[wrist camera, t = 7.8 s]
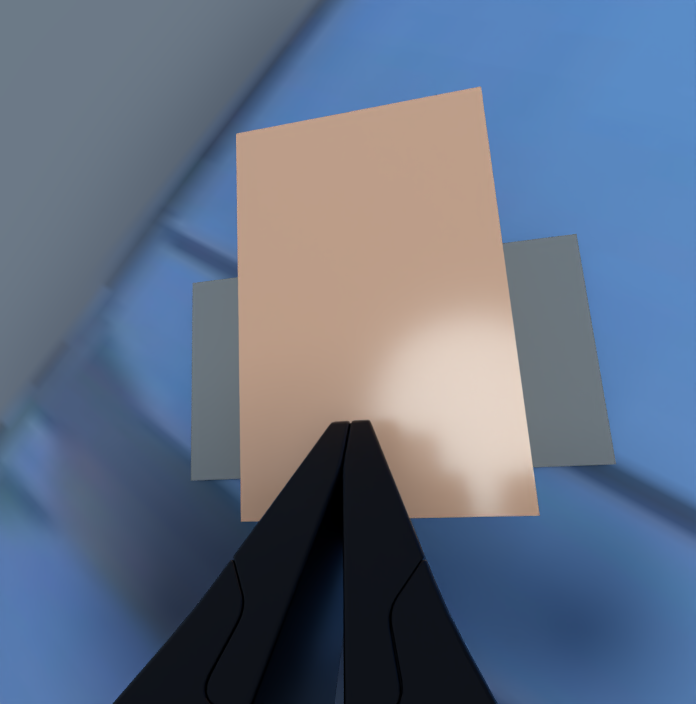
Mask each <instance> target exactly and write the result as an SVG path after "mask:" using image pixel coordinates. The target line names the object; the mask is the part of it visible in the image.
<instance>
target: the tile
mask: <svg viewBox="0 0 696 704" xmlns="http://www.w3.org/2000/svg"><path fill="white" fill-rule="evenodd" d="M236 154H237V235H238V315H239V396H240V476H241V522H248V521H260V519H261V518H262V517H263V515H264V514H265V512H266V511H267V510H268V508H269V507H270V506H271V504H272V503H273V501H274V500H275V499H276V497H277V496H278V495H279V493H280V492H281V490H282V489H283V488H284V486H285V485H286V484H287V482H288V481H289V480H290V478H291V477H292V475H293V474H294V473H295V471H296V470H297V469H298V467H299V466H300V464H301V463H302V462H303V460H304V459H305V458H306V456H307V455H308V453H309V452H310V451H311V449H312V448H313V447H314V445H315V444H316V442H317V441H318V440H319V438H320V437H321V436H322V434H323V433H324V431H325V430H326V429H327V427H328V426H329V425H330V424H331V423H332V422H335V421H349V422H352V421H354V420H370V421H371V423H372V426H373V428H374V431H375V433H376V436H377V438H378V441H379V443H380V446H381V448H382V451H383V453H384V455H385V458H386V460H387V463H388V465H389V468H390V470H391V473H392V475H393V478H394V480H395V483H396V485H397V488H398V490H399V493H400V495H401V498H402V500H403V503H404V505H405V508H406V510H407V513H408V515H409V518H446V517H495V516H540V515H539V507H538V500H537V493H536V486H535V478H534V471H533V464H532V456H531V449H530V442H529V434H528V427H527V420H526V412H525V405H524V398H523V391H522V383H521V376H520V369H519V361H518V354H517V347H516V339H515V332H514V325H513V318H512V310H511V303H510V296H509V288H508V281H507V274H506V266H505V259H504V252H503V245H502V237H501V230H500V223H499V215H498V208H497V201H496V193H495V186H494V179H493V172H492V164H491V157H490V150H489V142H488V135H487V128H486V120H485V113H484V106H483V99H482V91H481V87H476V88H471V89H466V90H461V91H455V92H450V93H445V94H440V95H435V96H430V97H424V98H419V99H414V100H409V101H404V102H398V103H393V104H388V105H383V106H378V107H373V108H367V109H362V110H357V111H352V112H347V113H342V114H336V115H331V116H326V117H321V118H316V119H310V120H305V121H300V122H295V123H290V124H285V125H279V126H274V127H269V128H264V129H259V130H253V131H248V132H243V133H238V134H236Z"/></svg>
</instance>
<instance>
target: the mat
mask: <svg viewBox="0 0 696 704" xmlns="http://www.w3.org/2000/svg"><path fill="white" fill-rule="evenodd" d="M502 245H503V252H504V259H505V266H506V274H507V281H508V288H509V296H510V303H511V310H512V318H513V325H514V332H515V339H516V347H517V354H518V361H519V369H520V376H521V383H522V391H523V398H524V405H525V412H526V420H527V427H528V434H529V442H530V449H531V456H532V464H533V467H555V466H581V465H607V464H616V462H615V456H614V450H613V444H612V439H611V433H610V427H609V421H608V415H607V409H606V404H605V398H604V392H603V386H602V380H601V375H600V369H599V363H598V357H597V351H596V345H595V340H594V334H593V328H592V322H591V316H590V310H589V305H588V299H587V293H586V287H585V281H584V276H583V270H582V264H581V258H580V252H579V246H578V241H577V235H576V234H572V235H565V236H557V237H549V238H541V239H533V240H526V241H518V242H510V243H502ZM219 479H241V476H240V396H239V315H238V277H237V278H229V279H222V280H214V281H206V282H198V283H193V311H192V421H191V481H193V480H219Z"/></svg>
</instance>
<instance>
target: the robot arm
mask: <svg viewBox="0 0 696 704" xmlns="http://www.w3.org/2000/svg"><path fill="white" fill-rule="evenodd" d="M233 558H234V560H230V562H229V563H228V564H227V566H226V567H225V568H224V570H223V571H222V573H221V574H220V575H219V577H218V578H217V579H216V581H215V582H214V583H213V585H212V586H211V587H210V589H209V590H208V591H207V592H206V594H205V595H204V596H203V598H202V599H201V600H200V602H199V603H198V604H197V606H196V607H195V608H194V609H193V610H192V612H191V613H190V614H189V615H188V616H187V618H186V619H185V620H184V621H183V622H182V624H181V625H180V626H179V627H178V628H177V630H176V631H175V632H174V633H173V634H172V636H171V637H170V638H169V639H168V640H167V642H166V643H165V644H164V645H163V646H162V647H161V648H160V650H159V651H158V652H157V653H156V654H155V655H154V657H153V658H152V659H151V660H150V661H149V662H148V663H147V665H146V666H145V667H144V668H143V669H142V670H141V672H140V673H139V674H138V675H137V676H136V677H135V678H134V680H133V681H132V682H131V683H130V684H129V685H128V687H127V688H126V689H125V690H124V691H123V692H122V693H121V695H120V696H119V697H118V698H117V699H116V700H115V702H114V703H113V704H334V703H335V695H336V687H337V679H338V671H339V663H340V655H341V648H342V640H343V637H344V704H498V703H497V702H496V700H495V698H494V696H493V694H492V692H491V691H490V689H489V687H488V685H487V683H486V682H485V680H484V678H483V676H482V674H481V672H480V671H479V669H478V667H477V665H476V663H475V661H474V660H473V658H472V656H471V654H470V652H469V650H468V649H467V647H466V645H465V643H464V641H463V639H462V637H461V635H460V633H459V631H458V629H457V627H456V625H455V623H454V621H453V619H452V617H451V615H450V613H449V611H448V609H447V607H446V604H445V602H444V600H443V598H442V595H441V593H440V591H439V589H438V586H437V584H436V582H435V579H434V577H433V574H432V572H431V569H430V567H429V564H428V562H427V560H425V555H424V552H423V550H422V547H421V545H420V542H419V540H418V537H417V535H416V532H415V530H414V528H413V525H412V523H411V520H410V518H409V515H408V513H407V510H406V508H405V505H404V503H403V500H402V498H401V495H400V493H399V490H398V488H397V485H396V483H395V480H394V478H393V475H392V473H391V470H390V468H389V465H388V463H387V460H386V458H385V455H384V453H383V451H382V448H381V446H380V443H379V441H378V438H377V436H376V433H375V431H374V428H373V426H372V423H371V421H370V420H354V421H352V422H349V421H335V422H332V423H331V424H330V425H329V426H328V427H327V429H326V430H325V431H324V433H323V434H322V436H321V437H320V438H319V440H318V441H317V442H316V444H315V445H314V447H313V448H312V449H311V451H310V452H309V453H308V455H307V456H306V458H305V459H304V460H303V462H302V463H301V464H300V466H299V467H298V469H297V470H296V471H295V473H294V474H293V475H292V477H291V478H290V480H289V481H288V482H287V484H286V485H285V486H284V488H283V489H282V490H281V492H280V493H279V495H278V496H277V497H276V499H275V500H274V501H273V503H272V504H271V506H270V507H269V508H268V510H267V511H266V512H265V514H264V515H263V517H262V518H261V519H260V521H259V522H258V523H257V525H256V526H255V528H254V529H253V530H252V532H251V533H250V534H249V536H248V537H247V539H246V540H245V541H244V543H243V544H242V545H241V547H240V548H239V550H238V551H237V552H236V554H235V555H234V557H233Z"/></svg>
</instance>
